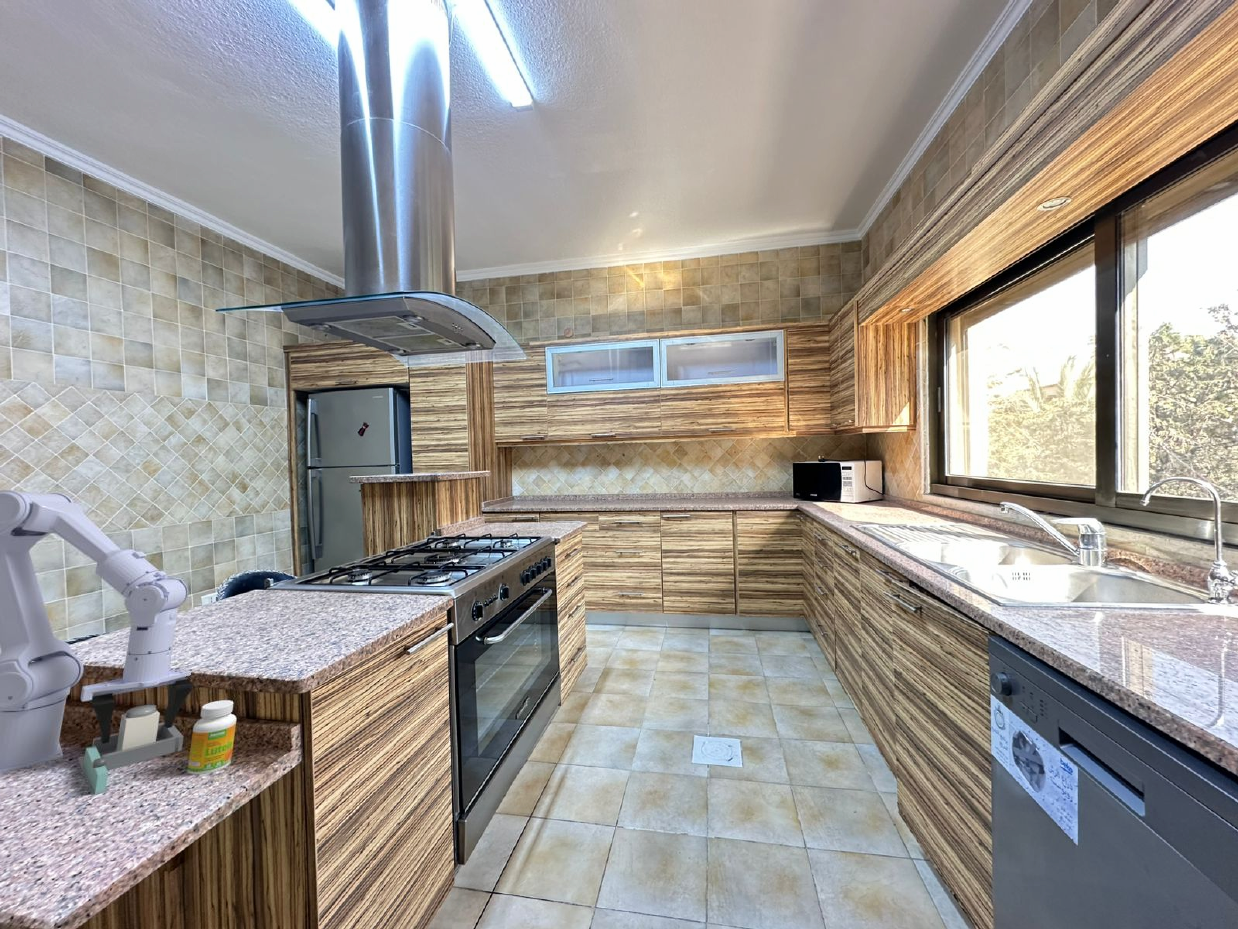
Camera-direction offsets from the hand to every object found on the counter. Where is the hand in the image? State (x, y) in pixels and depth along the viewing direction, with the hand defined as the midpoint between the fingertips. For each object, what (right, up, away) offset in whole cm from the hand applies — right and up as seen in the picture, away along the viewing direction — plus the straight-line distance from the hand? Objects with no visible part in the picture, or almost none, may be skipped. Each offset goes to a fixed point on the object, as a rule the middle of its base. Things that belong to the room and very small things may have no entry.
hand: (137, 733), depth 80 cm
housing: (+3, -3, -3) cm, 5 cm away
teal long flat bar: (+2, -2, -8) cm, 9 cm away
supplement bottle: (+16, -3, -4) cm, 17 cm away
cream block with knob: (0, -3, -1) cm, 3 cm away
